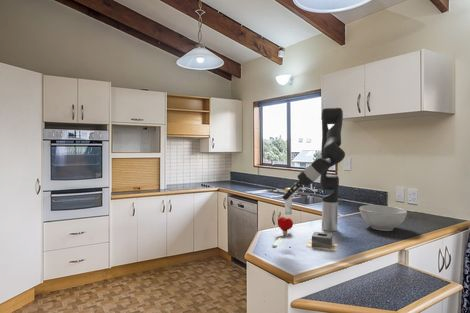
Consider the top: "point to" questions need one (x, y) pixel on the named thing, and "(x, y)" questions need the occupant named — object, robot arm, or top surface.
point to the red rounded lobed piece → (285, 224)
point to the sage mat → (277, 242)
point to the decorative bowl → (383, 216)
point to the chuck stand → (322, 241)
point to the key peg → (288, 203)
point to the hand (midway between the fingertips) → (284, 197)
